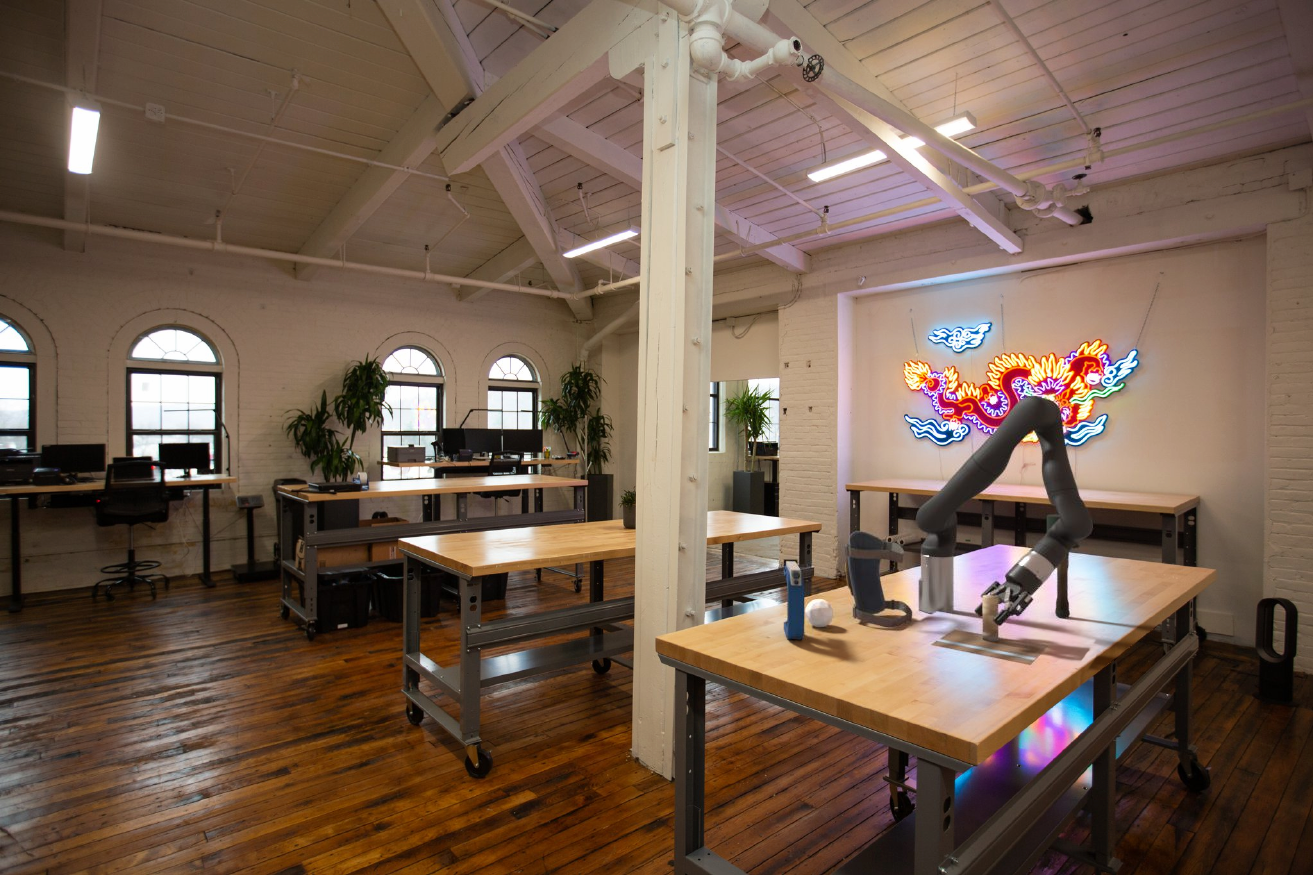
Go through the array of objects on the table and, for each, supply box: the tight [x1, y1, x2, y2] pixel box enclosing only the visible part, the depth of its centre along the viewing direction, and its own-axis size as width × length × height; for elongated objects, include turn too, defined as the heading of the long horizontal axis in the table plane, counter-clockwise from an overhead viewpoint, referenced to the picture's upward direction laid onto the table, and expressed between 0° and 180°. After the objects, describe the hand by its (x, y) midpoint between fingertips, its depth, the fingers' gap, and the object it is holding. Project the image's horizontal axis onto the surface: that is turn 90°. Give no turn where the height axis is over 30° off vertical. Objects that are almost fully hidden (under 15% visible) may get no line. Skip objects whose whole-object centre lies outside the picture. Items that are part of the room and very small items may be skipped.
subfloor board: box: [930, 628, 1048, 666], centre depth 163 cm, size 22×18×2 cm
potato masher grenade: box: [1046, 513, 1080, 619], centre depth 195 cm, size 8×9×30 cm
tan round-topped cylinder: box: [982, 594, 999, 642], centre depth 168 cm, size 4×4×11 cm
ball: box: [804, 598, 835, 628], centre depth 185 cm, size 8×8×8 cm
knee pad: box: [843, 530, 913, 629], centre depth 193 cm, size 18×20×25 cm
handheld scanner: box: [783, 558, 805, 640], centre depth 176 cm, size 4×16×19 cm, turn 174°
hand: (986, 618), depth 168 cm, fingers open, 8 cm apart
